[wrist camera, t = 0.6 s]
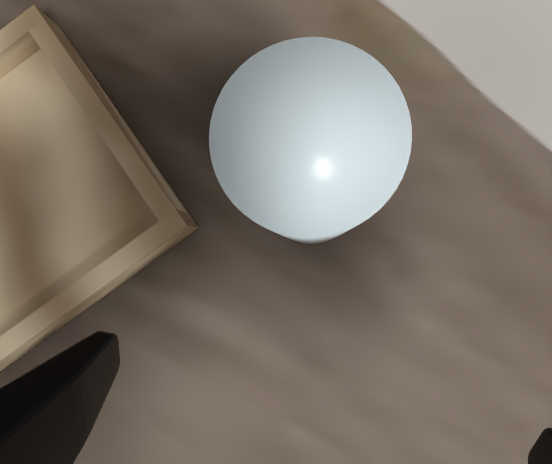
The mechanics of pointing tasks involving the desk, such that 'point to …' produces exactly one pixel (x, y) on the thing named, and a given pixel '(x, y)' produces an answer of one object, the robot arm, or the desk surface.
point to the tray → (68, 189)
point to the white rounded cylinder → (310, 138)
